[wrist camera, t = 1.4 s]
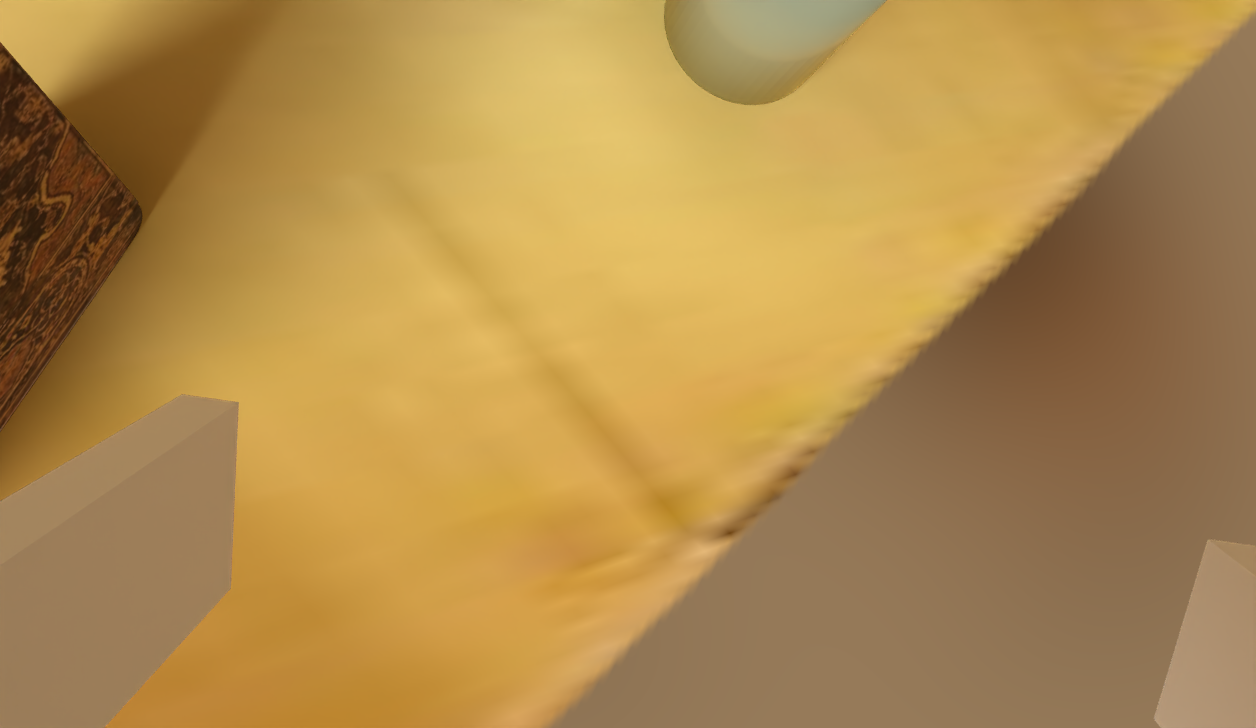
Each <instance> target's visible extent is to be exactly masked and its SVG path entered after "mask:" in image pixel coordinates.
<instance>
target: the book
mask: <svg viewBox="0 0 1256 728" xmlns="http://www.w3.org/2000/svg"><path fill="white" fill-rule="evenodd" d="M141 221H142V211H141V208H140V206H139V205H138V201H137V200H136V199H135V198H134V196H133V195H132V194H131V193H130V191H129V190H128V189H127V188H126V187H125V185H124V184H123V183H122V182H121V181H120V180H119V178H118V177H117V176H116V175H115V174H114V173H113V172H112V170H111V169H110V168H109V167H108V166H107V165H106V163H105V162H104V161H103V160H102V159H101V158H100V157H99V155H98V154H97V153H96V152H95V151H94V150H93V149H92V147H91V146H90V145H89V144H88V143H87V142H86V140H85V139H84V138H83V137H82V136H81V135H80V134H79V132H78V131H77V130H76V129H75V128H74V127H73V125H72V124H71V123H70V122H69V121H68V120H67V119H66V117H65V116H64V115H63V114H62V113H61V112H60V110H59V109H58V108H57V107H56V106H55V105H54V104H53V102H52V101H51V100H50V99H49V98H48V97H47V95H46V94H45V93H44V92H43V91H42V90H41V89H40V87H39V86H38V85H37V84H36V83H35V82H34V80H33V79H32V78H31V77H30V76H29V75H28V74H27V72H26V71H25V70H24V69H23V68H22V67H21V65H20V64H19V63H18V62H17V61H16V60H15V59H14V57H13V56H12V55H11V54H10V53H9V52H8V51H7V49H6V48H5V47H4V46H3V45H2V44H1V42H0V431H1V430H2V428H3V427H4V425H5V424H6V422H7V421H8V420H9V418H10V417H11V415H12V414H13V412H14V411H15V410H16V408H17V407H18V405H19V404H20V402H21V401H22V400H23V398H24V397H25V395H26V394H27V392H28V391H29V390H30V388H31V387H32V385H33V384H34V382H35V381H36V379H37V378H38V377H39V375H40V374H41V372H42V371H43V369H44V368H45V367H46V365H47V364H48V362H49V361H50V359H51V358H52V357H53V355H54V354H55V352H56V351H57V349H58V348H59V346H60V345H61V344H62V342H63V341H64V339H65V338H66V336H67V335H68V334H69V332H70V331H71V329H72V328H73V326H74V325H75V324H76V322H77V321H78V319H79V318H80V316H81V315H82V314H83V312H84V311H85V309H86V308H87V306H88V305H89V303H90V302H91V300H92V299H93V298H94V296H95V295H96V293H97V292H98V290H99V289H100V287H101V286H102V284H103V283H104V281H105V280H106V278H107V277H108V275H109V274H110V272H111V271H112V269H113V268H114V266H115V265H116V263H117V262H118V260H119V259H120V257H121V256H122V254H123V253H124V251H125V250H126V249H127V247H128V246H129V244H130V243H131V241H132V240H133V238H134V237H135V235H136V233H137V231H138V229H139V227H140V224H141Z"/></svg>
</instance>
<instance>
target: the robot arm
mask: <svg viewBox="0 0 1256 728" xmlns="http://www.w3.org/2000/svg"><path fill="white" fill-rule="evenodd" d="M238 404H239V402H233V401H225V400H218V399H211V398H204V397H197V396H190V395H183V394H182V395H180V396H178V397H177V398H175V399H173V400H172V401H170V402H168V403H167V404H165V405H163V406H161V407H160V408H158V409H156V410H155V411H153V412H151V413H150V414H148V415H146V416H144V417H143V418H141V419H139V420H138V421H136V422H134V423H132V424H131V425H129V426H127V427H126V428H124V429H122V430H121V431H119V432H117V433H115V434H114V435H112V436H110V437H109V438H107V439H105V440H104V441H102V442H100V443H98V444H97V445H95V446H93V447H92V448H90V449H88V450H87V451H85V452H83V453H81V454H80V455H78V456H76V457H75V458H73V459H71V460H69V461H68V462H66V463H64V464H63V465H61V466H59V467H58V468H56V469H54V470H52V471H51V472H49V473H47V474H46V475H44V476H42V477H41V478H39V479H37V480H35V481H34V482H32V483H30V484H29V485H27V486H25V487H24V488H22V489H20V490H18V491H17V492H15V493H13V494H12V495H10V496H8V497H6V498H5V499H3V500H1V501H0V728H104V727H105V726H106V725H107V724H108V723H109V722H110V721H111V720H112V718H113V717H114V716H115V715H116V714H117V713H118V712H119V711H120V710H121V709H122V707H123V706H124V705H125V704H126V703H127V702H128V701H129V700H130V699H131V698H132V696H133V695H134V694H135V693H136V692H137V691H138V690H139V689H140V688H141V687H142V685H143V684H144V683H145V682H146V681H147V680H148V679H149V678H150V677H151V676H152V674H153V673H154V672H155V671H156V670H157V669H158V668H159V667H160V666H161V665H162V663H163V662H164V661H165V660H166V659H167V658H168V657H169V656H170V655H171V654H172V652H173V651H174V650H175V649H176V648H177V647H178V646H179V645H180V644H181V643H182V641H183V640H184V639H185V638H186V637H187V636H188V635H189V634H190V633H191V632H192V630H193V629H194V628H195V627H196V626H197V625H198V624H199V623H200V622H201V621H202V619H203V618H204V617H205V616H206V615H207V614H208V613H209V612H210V611H211V610H212V608H213V607H214V606H215V605H216V604H217V603H218V602H219V601H220V600H221V599H222V597H223V596H224V595H225V594H226V593H227V592H228V591H229V590H230V589H231V569H232V545H233V522H234V498H235V475H236V451H237V428H238ZM1154 720H1155V721H1156V722H1157V723H1158V725H1159V726H1160V727H1161V728H1256V546H1254V545H1246V544H1239V543H1232V542H1225V541H1218V540H1211V539H1208V541H1207V544H1206V547H1205V551H1204V554H1203V557H1202V560H1201V564H1200V567H1199V570H1198V574H1197V577H1196V580H1195V584H1194V587H1193V590H1192V594H1191V597H1190V600H1189V604H1188V607H1187V610H1186V614H1185V617H1184V620H1183V624H1182V627H1181V630H1180V633H1179V637H1178V640H1177V643H1176V647H1175V650H1174V654H1173V657H1172V660H1171V663H1170V667H1169V670H1168V673H1167V677H1166V680H1165V683H1164V687H1163V690H1162V693H1161V697H1160V700H1159V703H1158V707H1157V710H1156V713H1155V717H1154Z"/></svg>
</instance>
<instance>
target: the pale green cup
mask: <svg viewBox="0 0 1256 728" xmlns="http://www.w3.org/2000/svg"><path fill="white" fill-rule="evenodd" d="M886 1H887V0H666V3H665V11H664V22H665V30H666V35H667V39H668V42H669V45H670V48H671V50H672V52H673V54H674V56H675V58H676V60H677V61H678V63H679V65H680V66H681V68H682V69H683V70H684V71H685V72H686V74H687V75H688V76H689V77H690V78H691V79H692V80H693V81H694V82H695V83H696V84H698V85H699V86H700V87H702V88H703V89H704V90H706V91H707V92H709V93H711V94H712V95H714V96H716V97H719V98H721V99H723V100H726V101H730V102H733V103H738V104H744V105H759V104H767V103H771V102H774V101H777V100H779V99H782V98H784V97H786V96H788V95H789V94H791V93H792V92H794V91H795V90H796V89H797V88H799V87H800V86H801V85H802V84H803V83H804V82H805V81H806V80H807V79H808V78H809V77H810V76H811V75H812V74H813V73H814V72H815V71H816V70H817V69H818V68H819V67H820V66H821V65H822V64H823V63H824V62H825V61H826V60H827V59H828V58H829V57H830V56H831V55H832V54H833V53H834V52H835V51H836V50H837V49H838V48H839V47H840V46H841V45H842V44H843V43H844V42H845V41H846V40H847V39H848V38H849V37H850V36H851V35H852V34H853V33H854V32H855V31H856V30H857V29H858V28H859V27H860V26H861V25H862V24H863V23H864V22H865V21H866V20H867V19H868V18H869V17H870V16H871V15H872V14H873V13H874V12H876V11H877V10H878V9H879V8H880V7H881V6H882V5H883V4H884V3H885V2H886Z"/></svg>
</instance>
